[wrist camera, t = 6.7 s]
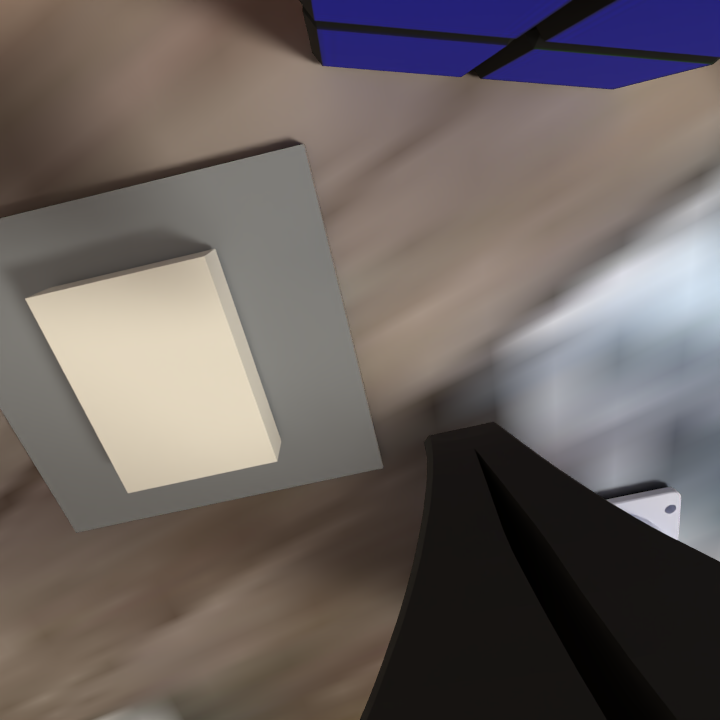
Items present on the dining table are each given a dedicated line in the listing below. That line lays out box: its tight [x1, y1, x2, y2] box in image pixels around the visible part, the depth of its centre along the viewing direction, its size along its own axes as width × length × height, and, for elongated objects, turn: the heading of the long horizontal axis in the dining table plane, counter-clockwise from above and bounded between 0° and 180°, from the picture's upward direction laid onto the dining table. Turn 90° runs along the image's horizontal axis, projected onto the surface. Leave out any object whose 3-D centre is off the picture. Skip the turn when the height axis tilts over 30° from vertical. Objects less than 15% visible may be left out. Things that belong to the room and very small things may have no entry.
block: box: [25, 249, 281, 493], centre depth 17 cm, size 8×2×6 cm
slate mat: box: [0, 144, 383, 533], centre depth 18 cm, size 13×14×1 cm
